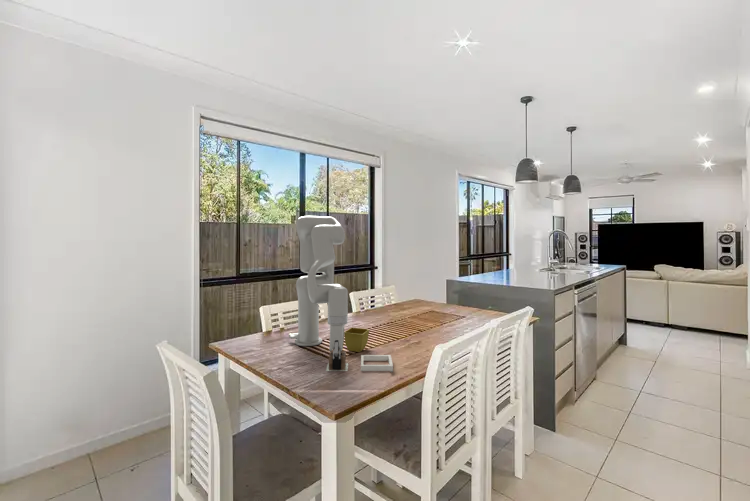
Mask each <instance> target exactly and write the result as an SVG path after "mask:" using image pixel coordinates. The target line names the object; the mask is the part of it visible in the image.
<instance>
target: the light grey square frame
mask: <svg viewBox="0 0 750 501" xmlns="http://www.w3.org/2000/svg"><path fill="white" fill-rule="evenodd" d="M392 359H393V358H392V355H391V354H361V355H360V372H390V373H394V365H393V364H394V363H393V360H392ZM364 361H367V362H368V361H369V362H370V361H371V362H373V361H375V362H376V361H377V362H379V361H382V362H384V361H385V362H386V361H387V362H388V364H364Z"/></svg>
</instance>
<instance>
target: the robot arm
mask: <svg viewBox="0 0 750 501" xmlns="http://www.w3.org/2000/svg"><path fill="white" fill-rule="evenodd" d="M295 228H296V233H297V237H298V240H299V268H300V271H301V272H303V273H304V274H305V273H307V275H302V276H300V277H298V278H297V280H296V283H295V288H296V294H297V303H298V304H297V308H298V309H297V310H298V311H297V319H298V320H297V327H298V328H297V330H298V331H297V332H296V333H289V334H288V338H289V339H291V340H292V339H294V344H295V345H297V346H300V347H312V346H317V345H320V344H321V343H323V339H322V338H321V337H320V336H319V335H320V334H319V332H320V330H319V324H320V323H319V322H320V321H319V320H320V317H319V313H320V311H319V310H320V307H319V305H321V304H323V305H324V304H327V324H328V325H330V326H329V345H328V346H329V349H328V350H329V352H333V359H332V369H341V358H340V356H341V352H343V348H344V342H345V335H344V332H345V326H346V325H347V324H348V319H349V318H348V313H349V312H348V311H349V310H348V309H349V308H348V307H349V306H348V304H349V302H348V301H349V297H348V295H349V291H348V288H347V287H344V286H343V285H342V284H340V283H334V282H335V261H336V254H335V252H336V251H335V248H334V245H342V244H344V243H345V240H346V233H345V229H344V227H343V226H342V224H341V223H340V222H339V221H338V220H337V219H336V218H335V217H333V216H322V215H321V216H319V215H304V216H300V217H299V218H298V219H297V220H296V227H295ZM317 273H322V274H320V275H319V274H317ZM338 349H340V350H338ZM338 352H339V353H338Z"/></svg>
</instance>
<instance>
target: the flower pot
mask: <svg viewBox="0 0 750 501" xmlns="http://www.w3.org/2000/svg"><path fill="white" fill-rule="evenodd" d="M369 333H370V329H367V328H361V327H360V328H359V327H350V328H348V329H347V330H344V342H345V347H346V349H347V350H348V351H350V352H357V353H360V352H362V351H364V349H365V348H366V346H367V344H368V341H369Z"/></svg>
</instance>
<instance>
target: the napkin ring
mask: <svg viewBox="0 0 750 501" xmlns="http://www.w3.org/2000/svg"><path fill="white" fill-rule="evenodd" d="M346 354H347V352H346V351H342V352H341V356H340V358H341V369H332V359H333V351H329V355H328V363H329V370H345V365H346V362H347V360H346V358H347V357H346V356H347V355H346Z"/></svg>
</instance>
